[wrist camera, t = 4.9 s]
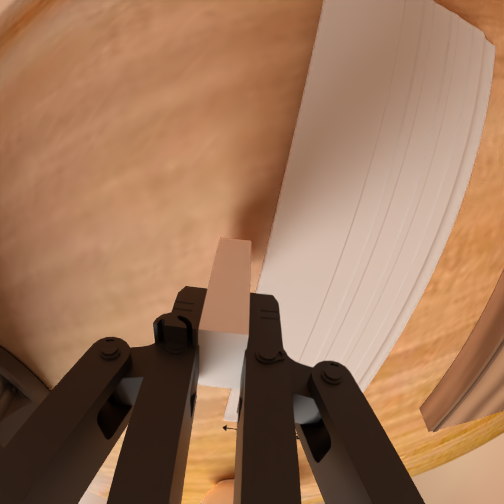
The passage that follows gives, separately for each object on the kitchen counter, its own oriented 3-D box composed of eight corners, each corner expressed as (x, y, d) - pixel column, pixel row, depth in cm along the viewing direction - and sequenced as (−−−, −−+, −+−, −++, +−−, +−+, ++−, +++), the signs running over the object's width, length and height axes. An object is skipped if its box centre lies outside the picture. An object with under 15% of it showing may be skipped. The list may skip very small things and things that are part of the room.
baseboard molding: (501, 58, 11) (326, -31, 10) (531, 58, 8) (340, -54, 7) (353, 414, 25) (224, 406, 24) (359, 439, 22) (222, 434, 21)
